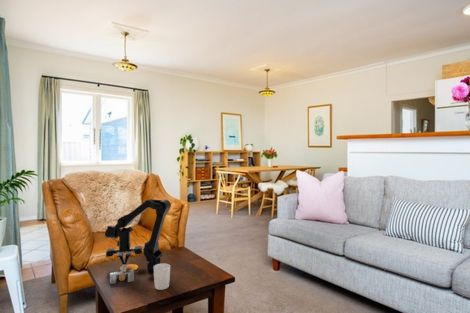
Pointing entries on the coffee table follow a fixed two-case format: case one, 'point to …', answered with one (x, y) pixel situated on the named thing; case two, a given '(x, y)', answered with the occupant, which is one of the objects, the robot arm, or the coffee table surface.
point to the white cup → (161, 276)
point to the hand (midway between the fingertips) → (124, 266)
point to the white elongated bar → (123, 268)
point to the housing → (114, 275)
